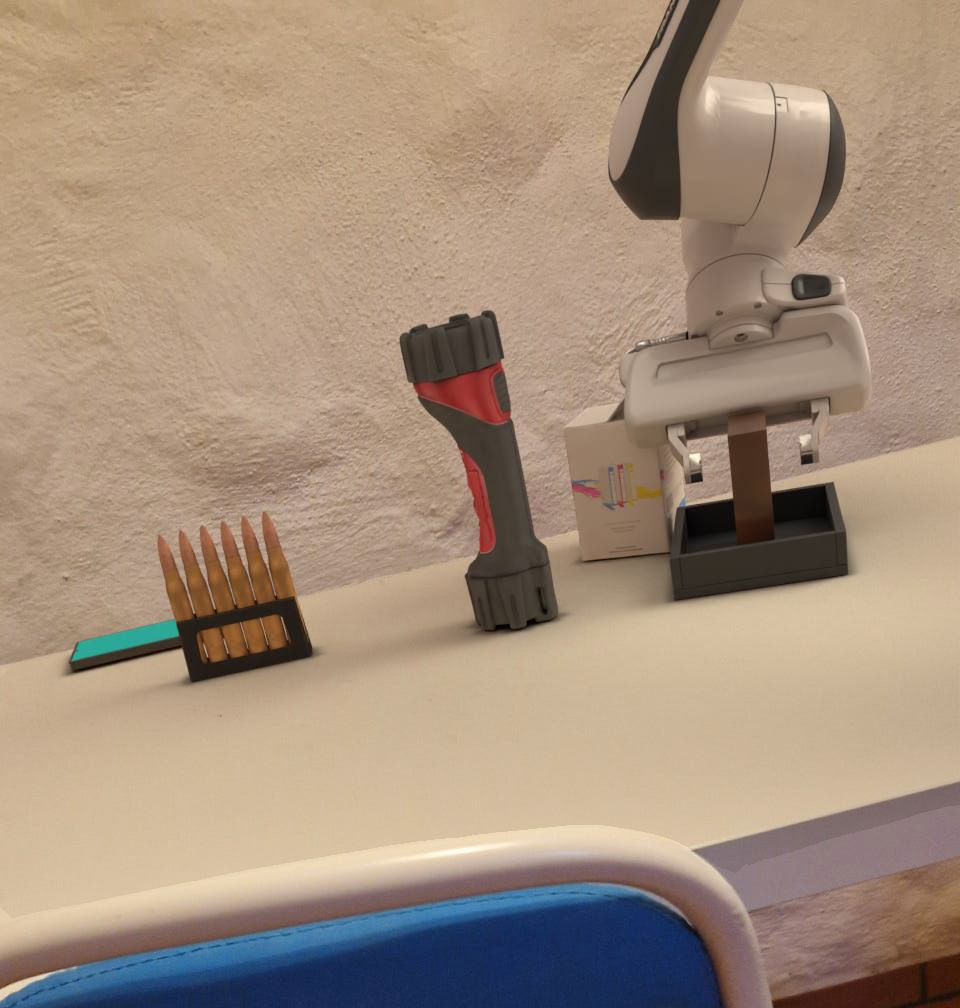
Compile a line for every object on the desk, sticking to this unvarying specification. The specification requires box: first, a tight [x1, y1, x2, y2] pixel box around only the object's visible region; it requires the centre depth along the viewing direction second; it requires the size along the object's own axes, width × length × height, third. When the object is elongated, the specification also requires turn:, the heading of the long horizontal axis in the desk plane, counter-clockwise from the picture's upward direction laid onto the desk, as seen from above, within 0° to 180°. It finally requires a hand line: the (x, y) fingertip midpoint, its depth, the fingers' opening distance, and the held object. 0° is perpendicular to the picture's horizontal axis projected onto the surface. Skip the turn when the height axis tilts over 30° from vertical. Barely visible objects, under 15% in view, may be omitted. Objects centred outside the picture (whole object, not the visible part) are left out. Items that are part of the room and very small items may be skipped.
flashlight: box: [398, 309, 559, 631], centre depth 111 cm, size 8×8×23 cm
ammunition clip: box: [156, 510, 314, 682], centre depth 117 cm, size 11×2×12 cm, turn 94°
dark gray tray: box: [669, 481, 849, 601], centre depth 117 cm, size 14×17×3 cm
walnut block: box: [727, 410, 775, 546], centre depth 115 cm, size 3×8×10 cm, turn 171°
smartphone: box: [68, 618, 223, 671], centre depth 132 cm, size 7×1×15 cm
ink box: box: [562, 396, 687, 562], centre depth 126 cm, size 9×8×13 cm
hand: (751, 469), depth 115 cm, fingers open, 8 cm apart
